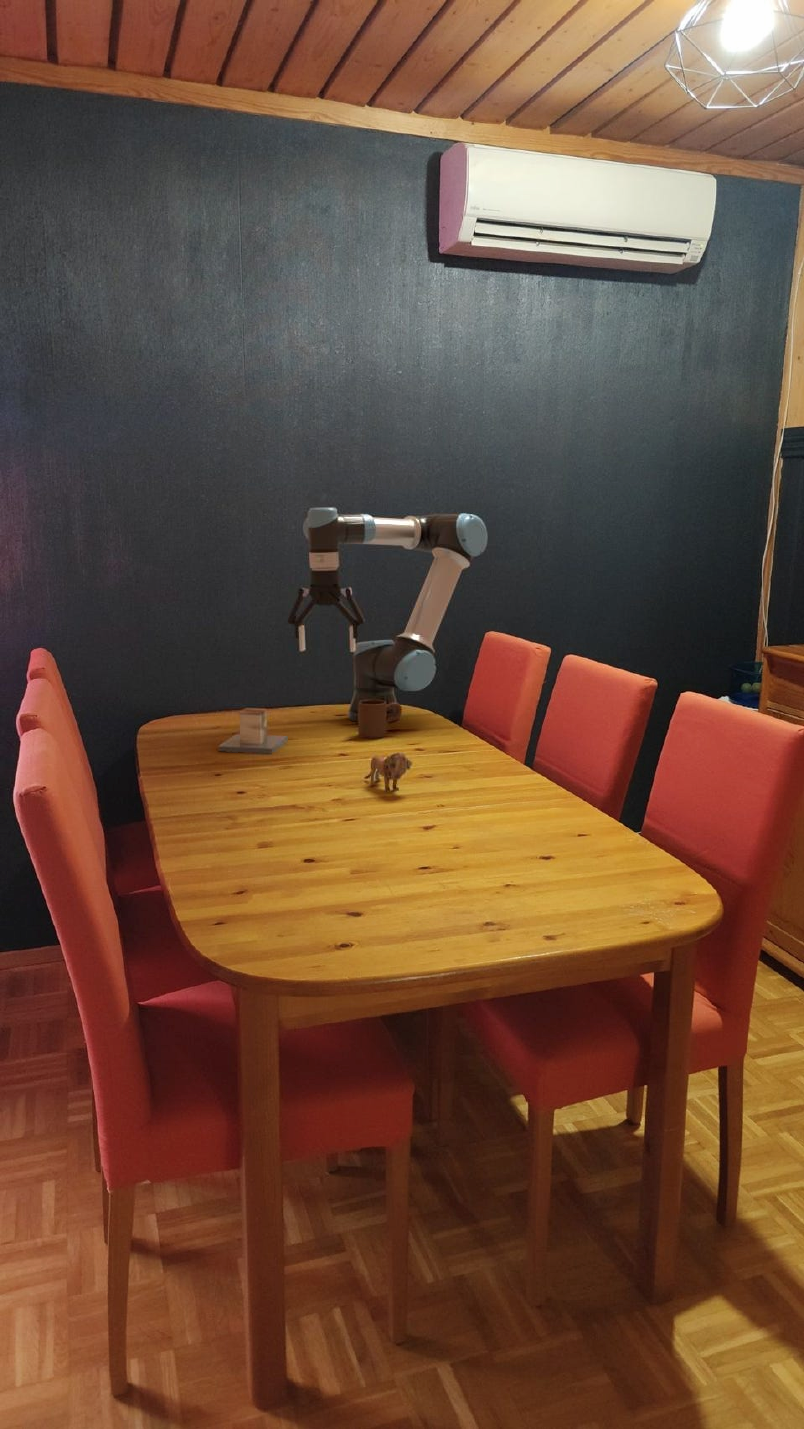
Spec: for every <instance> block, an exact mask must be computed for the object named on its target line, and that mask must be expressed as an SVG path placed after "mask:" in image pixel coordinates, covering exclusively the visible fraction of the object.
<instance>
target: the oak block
mask: <svg viewBox="0 0 804 1429" xmlns="http://www.w3.org/2000/svg"><path fill="white" fill-rule="evenodd" d="M267 711H268V709H267V708H253V707H252V708H251V707H250V708H249V707H245V708H243V709H242V710H240V711H239V712H238V718H239V719H238V720H239V723H238V724H239V726H238V727H239V734H240V743H250V744H261V743H263V742H264V741H265V740H267V735H268V726H267V725H268V721H267V718H268V717H267V716H268V715H267Z"/></svg>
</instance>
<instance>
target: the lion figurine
mask: <svg viewBox="0 0 804 1429" xmlns="http://www.w3.org/2000/svg"><path fill="white" fill-rule="evenodd" d="M412 765H413V761H412V760H409V758H408V757H406V753H405V752H402V751H400V752H396V753H392V754H391V755H390V756H387V757H386V758H384V756H383V755H380V754H375V755H374V756H373V757H372V758H371V761H370V773H369V774H367V775H365V776H364V777H363V778H364V779H365V780H367V779H368V780H369V778H370V783H369V785H370V786H369V787H374V786H375V787H376V783H375V781H376V782H380V781H381V778H380V776H381V777H383V779H384V793H386V794H390V793H391V788H390V780H392V789H393V791H396V792H397V791H399V790H400V788H399V787H397V783H398V781H399V780H400V779H401V777H402V776H404V774H406V773H407V770H408V771H410V769H411V767H412Z"/></svg>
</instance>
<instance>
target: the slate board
mask: <svg viewBox="0 0 804 1429" xmlns="http://www.w3.org/2000/svg"><path fill="white" fill-rule="evenodd" d="M287 742H288V736H287V735H271V734H270V735H269V734H267V740H265V741H264V742H263V743H261V744H250V743H240V733H235V734H234V735H233V736H231V737H230V738H228V739H227V740H225V741H224V742H223V743H221V744H219V745H218V747H217V750H218V751H226V752H225V753H238V752H245V753H244V754H263V755H264V754H266V755H273V754H274V753H275V752H276V751H277V750H279V749H280V748H281V747H283V746H284V745H285V744H286V743H287Z"/></svg>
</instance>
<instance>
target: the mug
mask: <svg viewBox="0 0 804 1429" xmlns="http://www.w3.org/2000/svg"><path fill="white" fill-rule="evenodd" d="M392 708H397V710H396V712H395V714H393V715H388V716H386V711H388V710H390V709H392ZM402 713H403V708H402V706H401V704H400V703H398V702H397V703H396V702H391V703H389V704H387V705H386V702H385V701H381V700H363V701H360V702H359V707H358V722H357V723H358V724H357V726H358V727H357V728H358V732H357V733H358V735H359V737H360V738H362V739H369V740H374V739H375V740H376V739H383V738H385V737H386V735H387V725H388V724H389V723H391V722H390V721H392V722H394V721H393V720H396V719H398V718H399V717H401V716H402ZM399 719H400V718H399ZM399 719H398V720H399ZM396 721H397V720H396Z"/></svg>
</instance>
